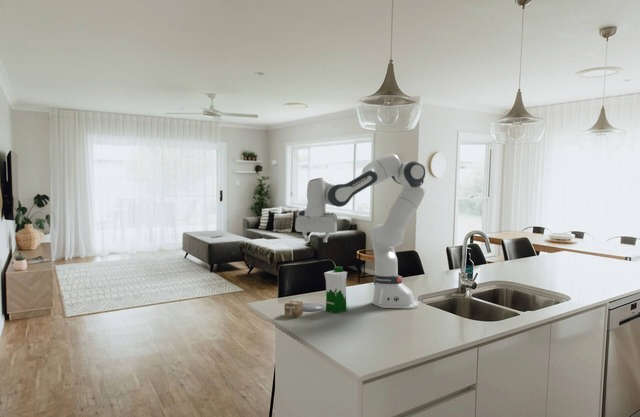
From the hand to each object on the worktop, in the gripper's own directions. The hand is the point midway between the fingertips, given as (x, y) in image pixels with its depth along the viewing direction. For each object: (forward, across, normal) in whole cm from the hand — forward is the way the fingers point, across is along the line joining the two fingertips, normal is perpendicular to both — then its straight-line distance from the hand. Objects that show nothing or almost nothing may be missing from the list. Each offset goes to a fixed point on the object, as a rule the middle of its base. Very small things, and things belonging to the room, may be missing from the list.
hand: (315, 241), depth 197 cm
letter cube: (+32, +4, +15) cm, 35 cm away
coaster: (+32, +2, 0) cm, 32 cm away
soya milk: (+32, -10, 0) cm, 33 cm away
